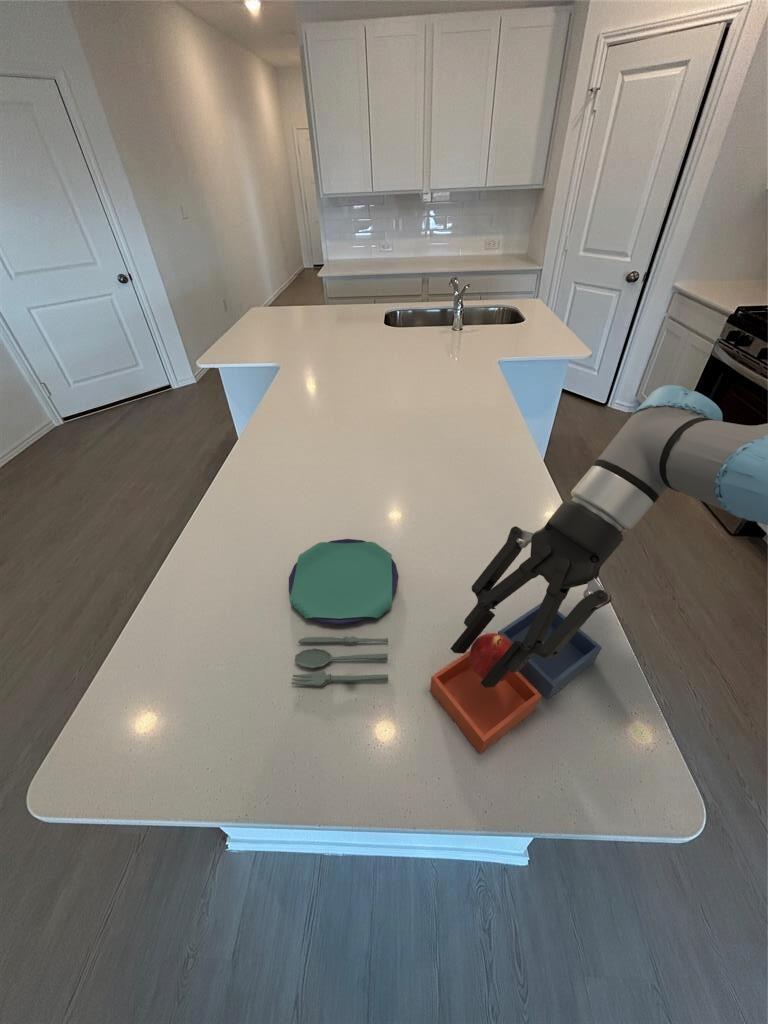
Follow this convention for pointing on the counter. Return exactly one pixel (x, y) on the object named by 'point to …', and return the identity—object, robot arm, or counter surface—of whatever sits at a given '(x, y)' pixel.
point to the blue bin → (557, 670)
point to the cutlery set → (341, 598)
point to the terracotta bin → (483, 701)
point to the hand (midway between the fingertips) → (472, 667)
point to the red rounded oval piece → (488, 653)
